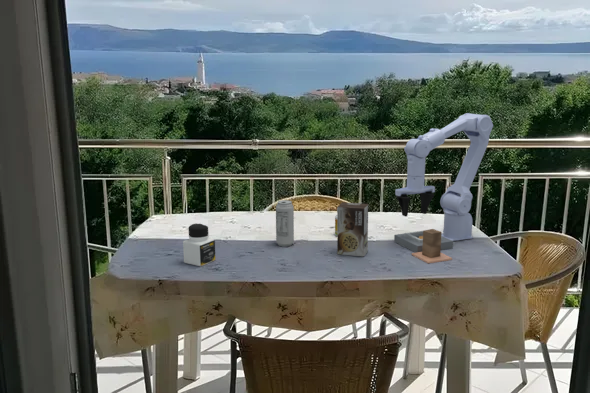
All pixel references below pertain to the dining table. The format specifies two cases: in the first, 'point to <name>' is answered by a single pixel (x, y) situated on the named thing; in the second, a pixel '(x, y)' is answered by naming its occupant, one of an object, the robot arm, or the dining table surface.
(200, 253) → the medicine bottle
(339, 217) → the coffee box
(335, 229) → the supplement bottle
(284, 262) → the dining table surface
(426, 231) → the brown rectangular block
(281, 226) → the energy drink can
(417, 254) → the terracotta tile
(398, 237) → the grey square socket base
